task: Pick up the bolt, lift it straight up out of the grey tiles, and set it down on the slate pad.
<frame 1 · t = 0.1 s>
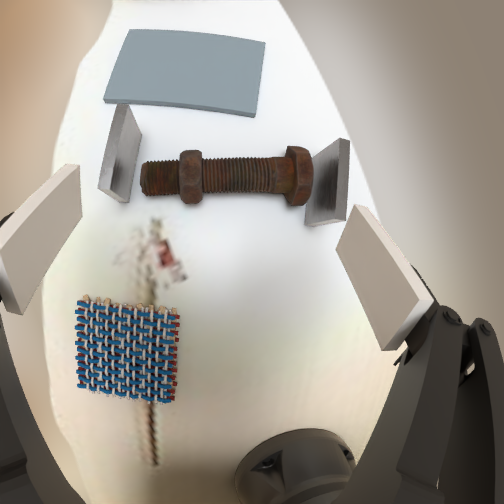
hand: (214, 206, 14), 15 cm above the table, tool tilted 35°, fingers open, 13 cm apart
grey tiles: (222, 177, 29), on the table
woven mat: (128, 349, 28), on the table
bolt: (222, 179, 29), on the table
slate pad: (186, 68, 28), on the table
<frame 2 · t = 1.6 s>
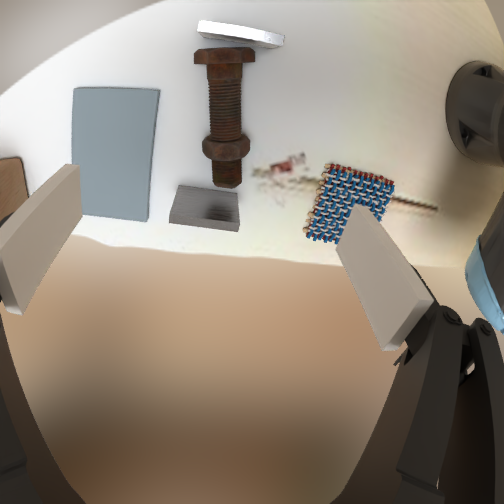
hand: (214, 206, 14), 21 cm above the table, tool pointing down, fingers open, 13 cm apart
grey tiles: (220, 117, 30), on the table
wooden block: (5, 189, 31), on the table
woven mat: (347, 203, 39), on the table
bolt: (224, 114, 31), on the table
slate pad: (111, 154, 31), on the table
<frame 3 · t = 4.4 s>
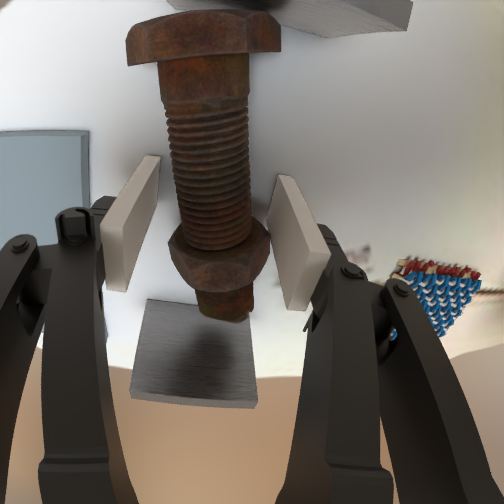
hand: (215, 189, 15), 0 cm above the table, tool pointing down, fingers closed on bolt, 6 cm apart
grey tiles: (216, 186, 15), on the table
woven mat: (412, 304, 24), on the table
bolt: (212, 171, 15), on the table, touching gripper
slate pad: (31, 248, 16), on the table
when the fingers open (3 cm above the table, at t = 9.6 s): bolt drops 1 cm, resting on slate pad.
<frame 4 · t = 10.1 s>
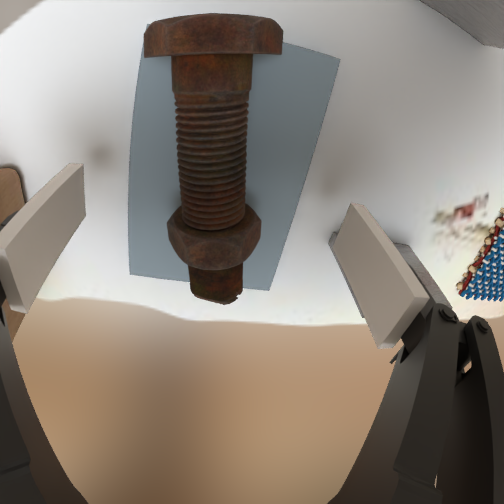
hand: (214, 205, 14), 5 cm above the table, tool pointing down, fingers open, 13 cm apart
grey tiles: (419, 130, 16), on the table
woven mat: (498, 252, 25), on the table
bolt: (211, 160, 16), point 1 cm above the table, touching slate pad
slate pad: (216, 169, 17), on the table
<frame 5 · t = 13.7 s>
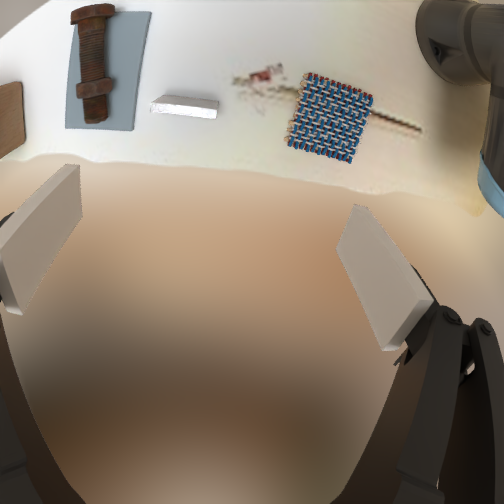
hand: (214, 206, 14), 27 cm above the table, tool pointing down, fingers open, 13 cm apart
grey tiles: (203, 33, 29), on the table
wooden block: (3, 115, 30), on the table
woven mat: (328, 116, 37), on the table
bolt: (99, 63, 28), point 1 cm above the table, touching slate pad
slate pad: (104, 70, 30), on the table
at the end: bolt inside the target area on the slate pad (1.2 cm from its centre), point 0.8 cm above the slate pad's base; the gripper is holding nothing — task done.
